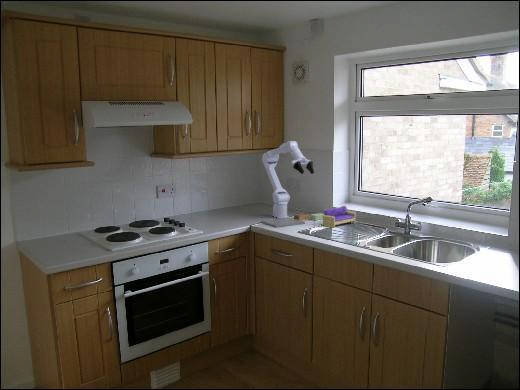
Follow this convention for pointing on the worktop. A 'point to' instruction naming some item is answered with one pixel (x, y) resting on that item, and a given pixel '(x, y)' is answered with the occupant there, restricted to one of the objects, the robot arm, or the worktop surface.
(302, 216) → the walnut block
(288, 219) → the baseplate
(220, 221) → the worktop surface
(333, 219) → the toy sofa
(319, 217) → the sage block
